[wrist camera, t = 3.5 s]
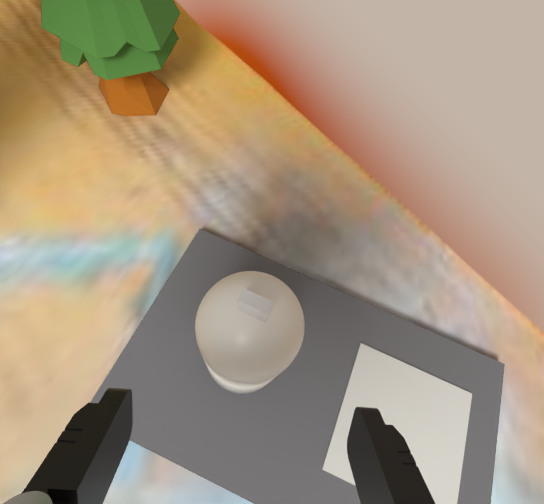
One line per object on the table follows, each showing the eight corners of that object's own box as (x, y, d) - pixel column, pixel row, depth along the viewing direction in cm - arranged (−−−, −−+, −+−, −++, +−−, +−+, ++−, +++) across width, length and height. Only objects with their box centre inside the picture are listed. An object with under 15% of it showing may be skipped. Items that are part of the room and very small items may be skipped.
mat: (86, 415, 20) (81, 415, 20) (200, 232, 26) (199, 228, 26) (471, 611, 18) (480, 619, 18) (498, 365, 25) (505, 363, 24)
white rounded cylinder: (192, 373, 21) (158, 334, 11) (226, 306, 24) (225, 221, 13) (261, 407, 21) (293, 399, 11) (290, 336, 23) (340, 272, 13)
